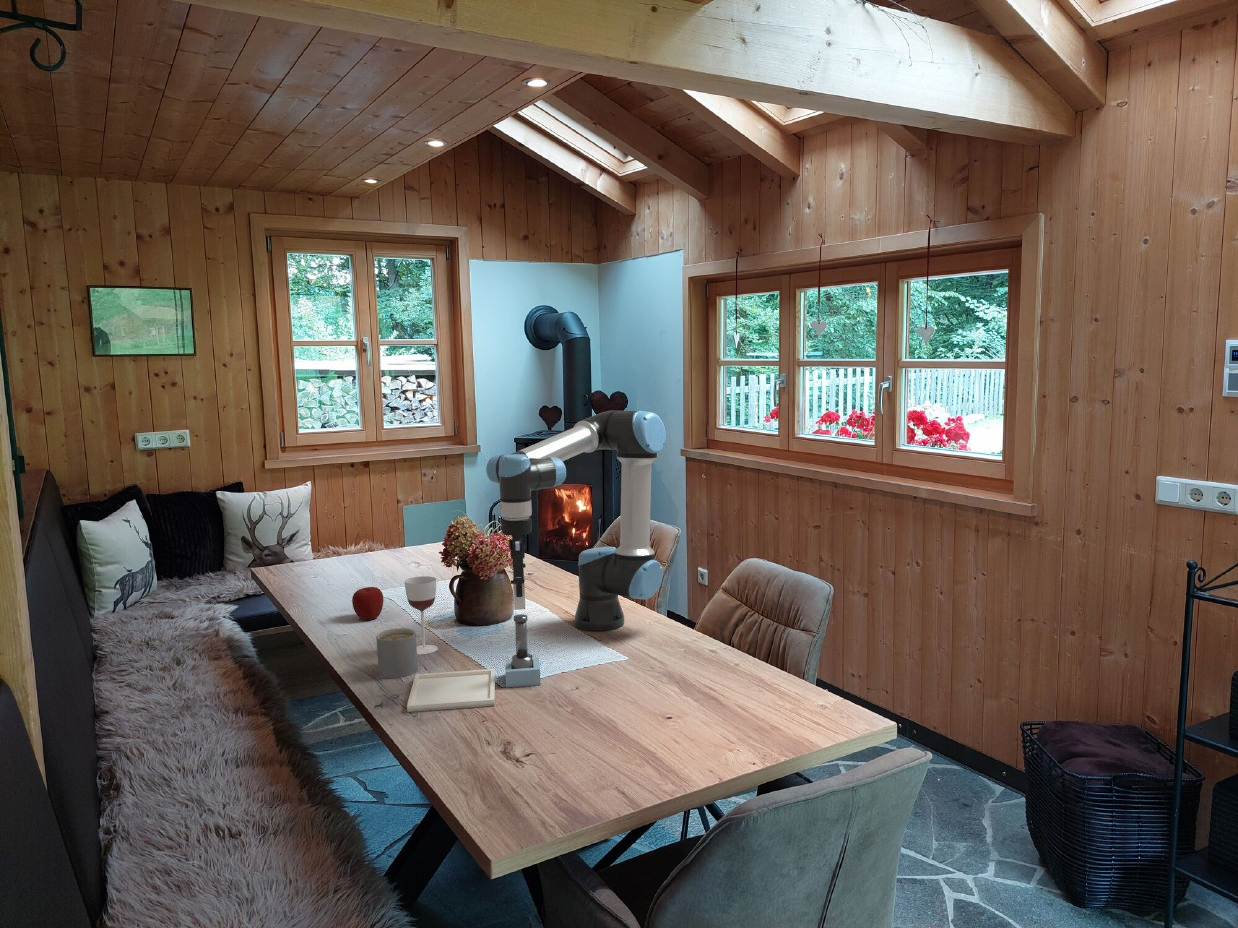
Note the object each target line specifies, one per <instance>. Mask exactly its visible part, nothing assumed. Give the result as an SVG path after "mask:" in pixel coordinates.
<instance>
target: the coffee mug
mask: <svg viewBox="0 0 1238 928" xmlns="http://www.w3.org/2000/svg"><path fill="white" fill-rule="evenodd" d="M416 634H417V633H416V630H414V629H412V628H407V627H405V628H404V627H401V628H400V627H398V628H389V629H386V630H383V631H380V632H378V633H377V635H376V638H375V639H376V650H377V651H376V652H377V655H376V656H377V666H378V667H377V670H378V671H377V672H378V675H379V676H380V677H382V678H386V679H387V678H388V679H397V678H399V679H400V678H404V677H409V676H411V675H413V674H416V672H417V671H418V654H417V635H416Z"/></svg>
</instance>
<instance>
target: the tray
mask: <svg viewBox="0 0 1238 928" xmlns="http://www.w3.org/2000/svg"><path fill="white" fill-rule="evenodd" d="M412 683H413V684H412V687H411V689H410V693H409V697H408V700H407V705H406V712H407V713H413V712H414V713H417V712H427V711H428V712H429V711H441V710H454V709H456V710H457V709H469V708H482V707H483V708H484V707H493V706H494V707H495V699H496V697H495V696H496V695H495V694H496V668H488V669H487V668H485V669H474V670H459V671H456V670H455V671H447V672H430V673H428V672H427V673H418V674H417V673H415V675H414V679H413V682H412Z"/></svg>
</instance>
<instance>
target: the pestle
mask: <svg viewBox="0 0 1238 928" xmlns="http://www.w3.org/2000/svg"><path fill="white" fill-rule="evenodd" d="M513 622H514V627H515V628H514V630H515V650H516V651H515V652H516V654H513V655H512V657H511V659H512V666H513V669H521V668H533V667H532V658H533V655H532V654H531V653H528V634H527V633H528V629H527V622H528V615H527V614H515V615H514V616H513Z"/></svg>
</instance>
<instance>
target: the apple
mask: <svg viewBox="0 0 1238 928" xmlns="http://www.w3.org/2000/svg"><path fill="white" fill-rule="evenodd" d="M351 602H352V607H353V610H354V612H355V614H356V616H358V618H359V619H361V620H363V621H364V620H365V621H367V620H368V621H369V620H375V619H377V618H378V617H379V616H380V615H381V613H382V611H383V607H384V594H383V591H382V590H381V589H380V588H379V587H375V586H367V587H362V588H359V589H357V590H356V591H355V592H354V593H353V595H352V598H351Z"/></svg>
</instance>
